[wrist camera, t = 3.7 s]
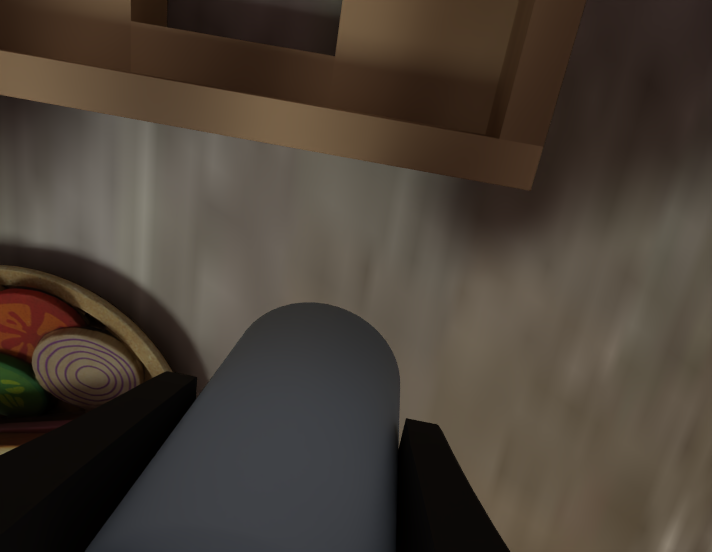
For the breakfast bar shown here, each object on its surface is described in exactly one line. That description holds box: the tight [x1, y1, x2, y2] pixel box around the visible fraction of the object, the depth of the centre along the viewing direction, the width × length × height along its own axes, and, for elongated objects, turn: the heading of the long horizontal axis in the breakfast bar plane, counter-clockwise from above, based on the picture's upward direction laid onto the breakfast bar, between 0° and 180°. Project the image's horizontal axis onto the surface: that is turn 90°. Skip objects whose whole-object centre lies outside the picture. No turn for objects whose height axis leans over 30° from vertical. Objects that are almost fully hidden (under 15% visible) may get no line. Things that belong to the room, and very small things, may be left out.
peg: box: [85, 303, 400, 552], centre depth 8 cm, size 4×4×6 cm
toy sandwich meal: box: [0, 265, 172, 455], centre depth 18 cm, size 12×14×5 cm
